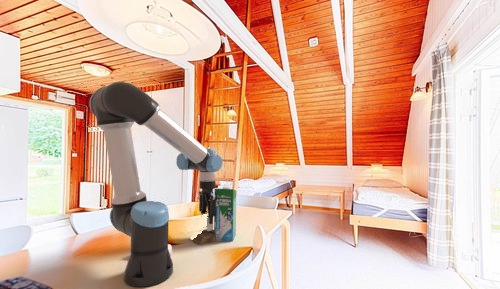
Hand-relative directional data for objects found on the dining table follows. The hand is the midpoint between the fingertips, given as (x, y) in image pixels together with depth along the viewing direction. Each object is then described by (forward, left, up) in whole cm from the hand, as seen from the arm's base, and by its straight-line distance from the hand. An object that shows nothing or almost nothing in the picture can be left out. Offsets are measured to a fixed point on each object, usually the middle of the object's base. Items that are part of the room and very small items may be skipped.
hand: (207, 228), depth 117 cm
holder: (0, 0, -5) cm, 5 cm away
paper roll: (-23, -11, -2) cm, 25 cm away
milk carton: (+8, -4, -5) cm, 10 cm away
